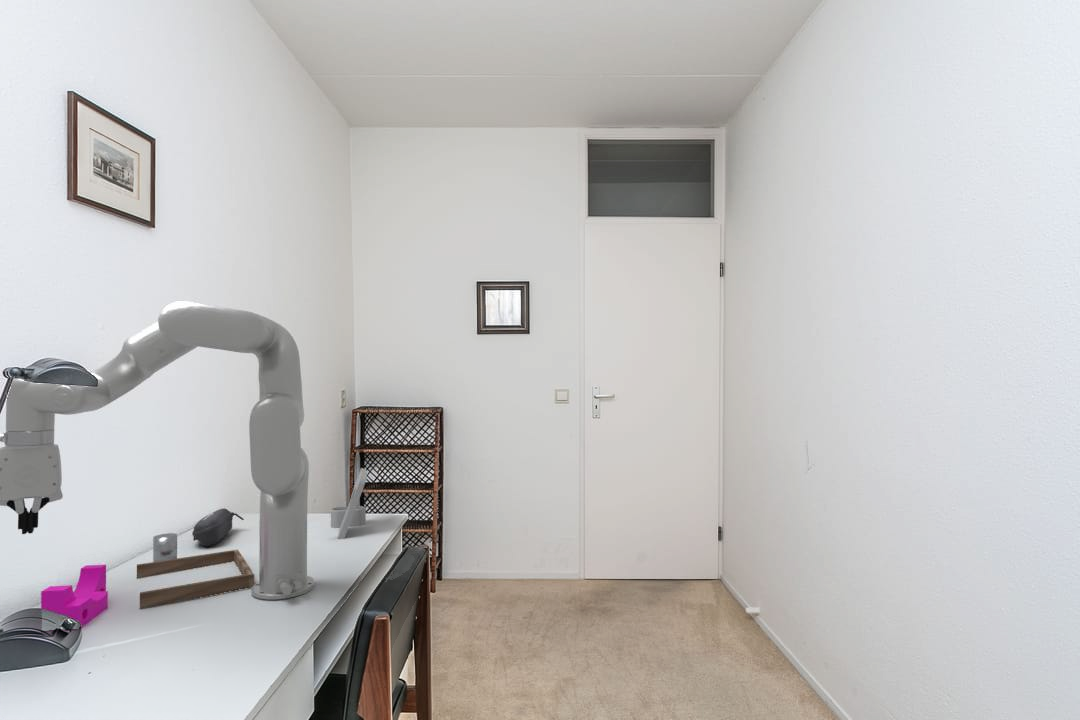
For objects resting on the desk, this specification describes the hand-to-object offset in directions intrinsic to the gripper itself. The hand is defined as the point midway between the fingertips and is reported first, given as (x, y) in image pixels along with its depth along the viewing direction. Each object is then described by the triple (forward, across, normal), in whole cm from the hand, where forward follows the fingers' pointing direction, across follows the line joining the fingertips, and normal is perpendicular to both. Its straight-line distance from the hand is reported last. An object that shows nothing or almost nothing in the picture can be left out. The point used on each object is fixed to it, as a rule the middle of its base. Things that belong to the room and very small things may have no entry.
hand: (27, 532), depth 125 cm
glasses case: (+15, +38, +33) cm, 53 cm away
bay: (+15, +29, 0) cm, 33 cm away
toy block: (+16, +9, -8) cm, 20 cm away
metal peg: (+15, +25, +18) cm, 34 cm away
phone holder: (+15, +70, +20) cm, 74 cm away
